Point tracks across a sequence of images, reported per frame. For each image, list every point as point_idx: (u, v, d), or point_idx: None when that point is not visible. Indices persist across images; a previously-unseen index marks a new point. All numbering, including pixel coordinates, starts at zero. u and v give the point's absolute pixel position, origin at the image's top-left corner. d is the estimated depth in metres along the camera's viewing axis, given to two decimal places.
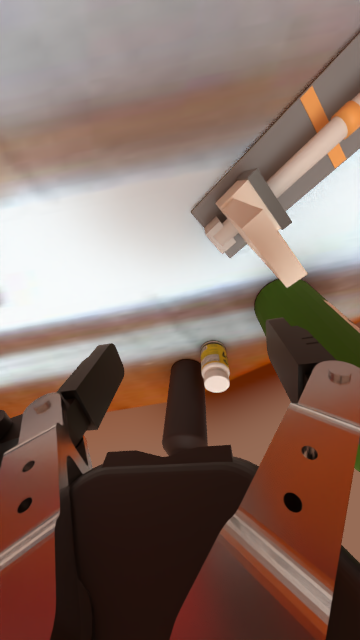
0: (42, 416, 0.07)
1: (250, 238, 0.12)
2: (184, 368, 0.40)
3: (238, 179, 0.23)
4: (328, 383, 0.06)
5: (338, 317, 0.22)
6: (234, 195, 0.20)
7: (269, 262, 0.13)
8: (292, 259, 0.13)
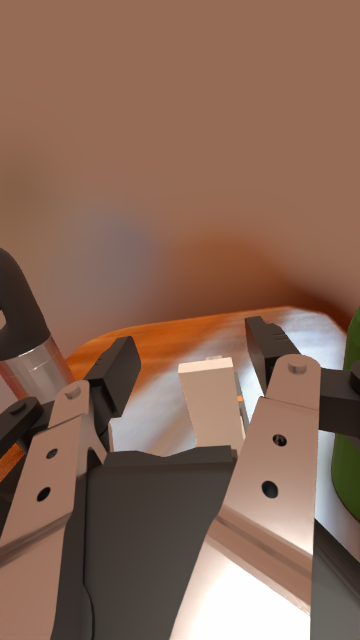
0: (71, 402, 0.07)
1: (186, 372, 0.19)
2: None
3: None
4: (286, 373, 0.06)
5: None
6: None
7: (207, 369, 0.19)
8: (215, 360, 0.20)
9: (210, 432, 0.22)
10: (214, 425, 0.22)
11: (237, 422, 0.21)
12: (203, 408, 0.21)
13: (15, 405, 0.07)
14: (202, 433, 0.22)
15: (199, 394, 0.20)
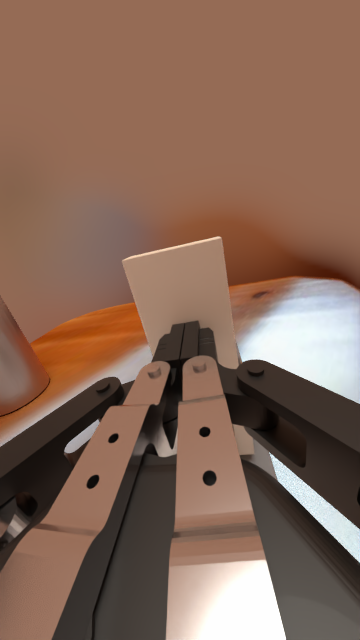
0: (149, 382, 0.07)
1: (136, 257, 0.10)
2: None
3: None
4: (186, 372, 0.07)
5: None
6: None
7: (175, 248, 0.10)
8: (191, 243, 0.11)
9: None
10: None
11: (232, 362, 0.12)
12: None
13: (101, 383, 0.07)
14: None
15: (164, 307, 0.11)
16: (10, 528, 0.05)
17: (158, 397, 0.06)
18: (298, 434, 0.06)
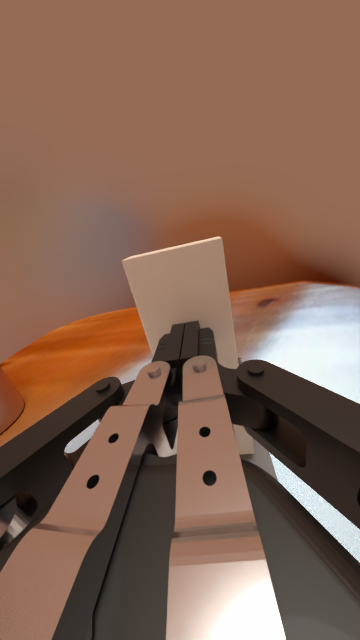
0: (149, 382, 0.07)
1: (137, 257, 0.10)
2: None
3: None
4: (186, 372, 0.07)
5: None
6: None
7: (175, 248, 0.10)
8: (192, 243, 0.11)
9: None
10: None
11: (232, 362, 0.13)
12: None
13: (101, 383, 0.07)
14: None
15: (164, 307, 0.11)
16: (10, 528, 0.05)
17: (158, 397, 0.06)
18: (298, 434, 0.06)
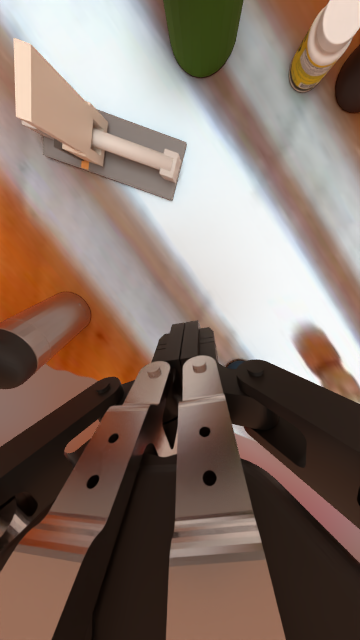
0: (149, 382, 0.07)
1: (30, 110, 0.19)
2: (348, 91, 0.27)
3: (79, 158, 0.32)
4: (186, 372, 0.07)
5: None
6: (73, 151, 0.28)
7: (30, 81, 0.18)
8: (17, 63, 0.17)
9: (80, 133, 0.26)
10: (75, 124, 0.25)
11: (76, 96, 0.23)
12: (62, 122, 0.23)
13: (101, 383, 0.07)
14: (79, 142, 0.26)
15: (51, 115, 0.21)
16: (10, 528, 0.05)
17: (158, 397, 0.06)
18: (298, 434, 0.06)
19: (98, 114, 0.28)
